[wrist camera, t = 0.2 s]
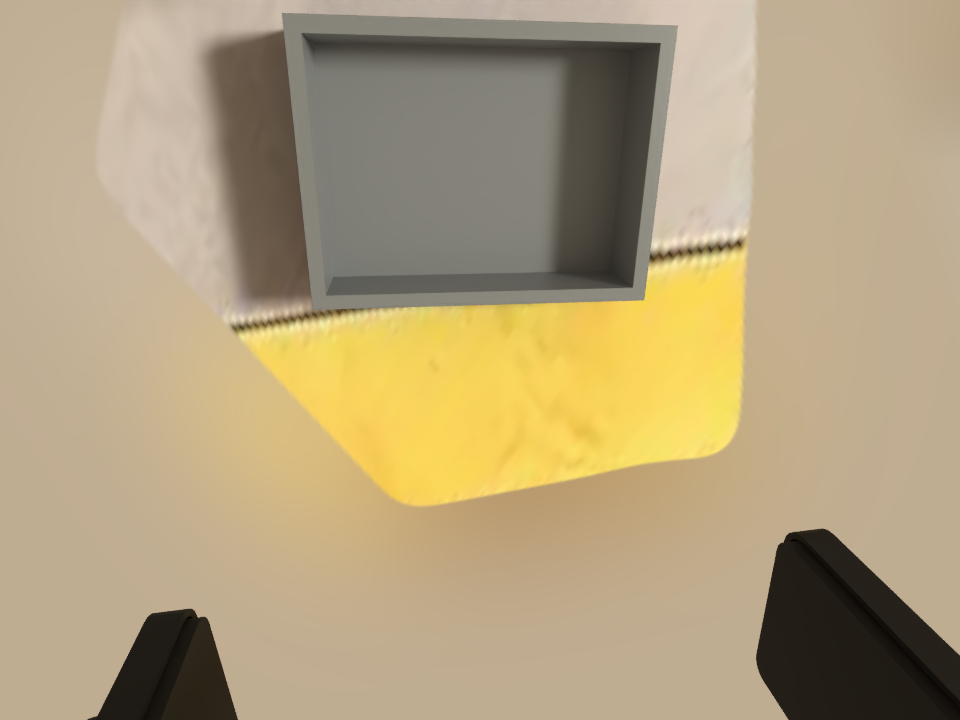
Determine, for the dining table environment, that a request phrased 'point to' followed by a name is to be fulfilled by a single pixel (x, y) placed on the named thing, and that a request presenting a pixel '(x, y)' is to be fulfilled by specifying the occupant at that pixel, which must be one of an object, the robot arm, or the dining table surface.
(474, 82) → the tote
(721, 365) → the dining table surface
